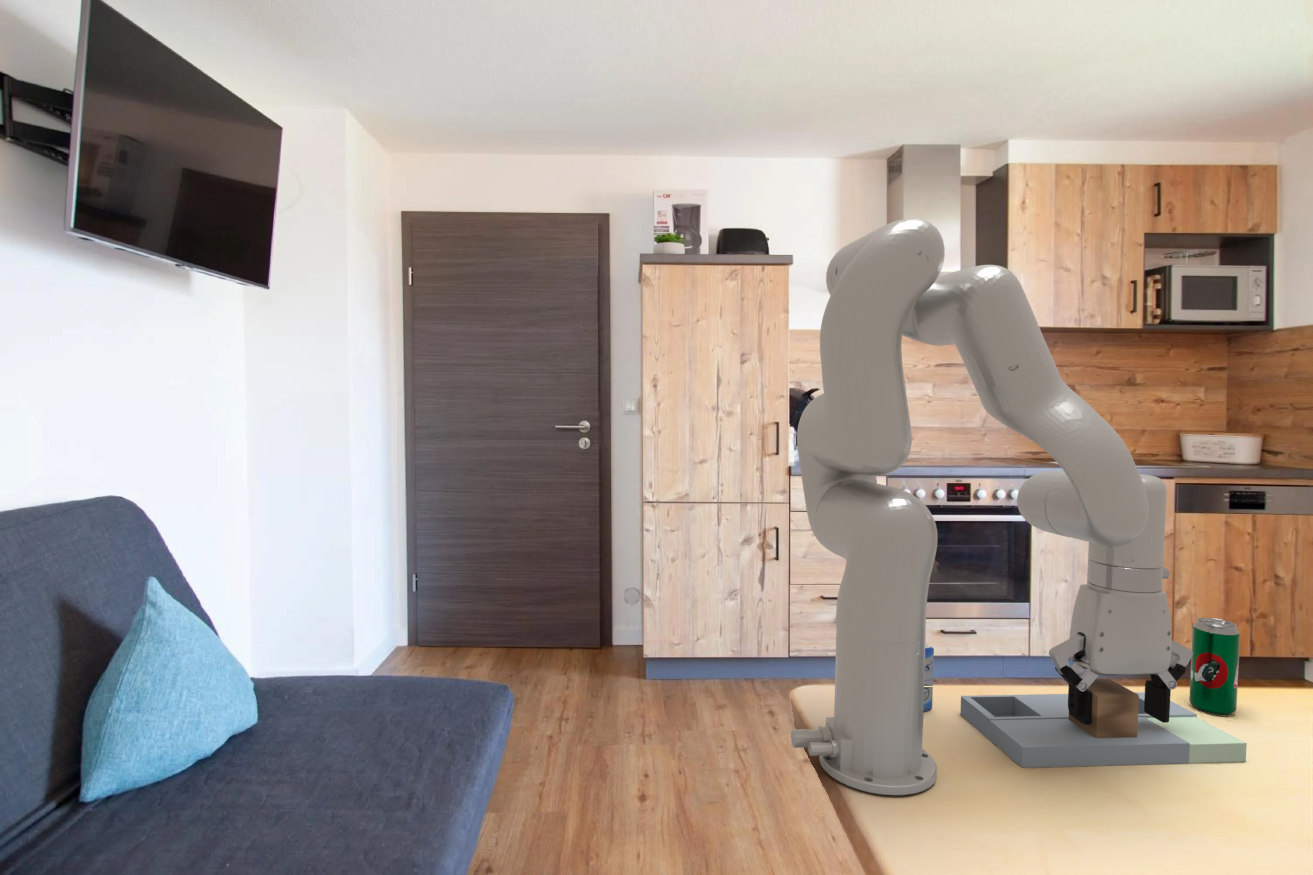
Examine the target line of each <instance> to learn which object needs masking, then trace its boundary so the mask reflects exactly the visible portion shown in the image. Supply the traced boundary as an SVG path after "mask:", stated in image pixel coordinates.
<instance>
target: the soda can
mask: <svg viewBox="0 0 1313 875" xmlns="http://www.w3.org/2000/svg"><path fill="white" fill-rule="evenodd" d="M1191 637H1192V638H1191V650H1192V652H1193V655H1192V657H1191V659H1190V661H1191V662H1190V679H1189V698H1188V699H1189V702H1190V704H1191V705H1192V706H1193V708H1195V709H1197V710H1199V711H1200V712H1203V713H1207V714H1210V715H1214V714H1215V715H1216V716H1222V715H1226V716H1231V715H1232V714H1234V713H1235V712H1236V711H1237V704H1238V702H1237V701H1238V683H1239V682H1238V681H1239V664H1240V647H1241V646H1240V645H1241V644H1240V643H1241V633H1240V631H1239V630H1238V625H1237V624H1236V623H1235V622H1232V621H1229V620H1225V619H1220V618H1215V617H1198V618H1196V622H1195V623H1194V624H1193V625H1192V634H1191Z"/></svg>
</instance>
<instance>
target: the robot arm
mask: <svg viewBox="0 0 1313 875" xmlns="http://www.w3.org/2000/svg"><path fill="white" fill-rule="evenodd" d="M945 249H946V248H945V243H944V239H943V237H942V235H941V232H940V231H939V229H938V228H937V227H936V226H934V225H933V223H930V222H928V221H927V220H924V219H921V218H917V217H916V218H905V219H904V218H903V219H898V220H895V221H893V222H890V223H888V224H885V225H883V226H881V227H879V228H877V229H874V230H873V231H871V232H869V233H867V234H865V235H863V236H862V237H860V238H858V239H856V240H853V241H852V242H849V243H847V244H846V245H845V246H843V247H842V248H840V249H839V250H838V251H837V252H836V253H835V254H834V256H833V257H832V258H831V260H830V261H829V263H828V266H827V269H826V273H825V274H826V278H825V280H826V281H825V282H826V288H827V289H826V290H827V291H828V293H829V298H828V300H827V303H826V306H825V309H824V312H823V315H822V319H821V325H820V332H819V354H820V365H821V366H820V367H821V380H822V389H823V393H822V394H820V395H817V396H816V397H814V398H813V399H812V400H810V401H809V403H808V404H807V405H806V406H805V408H804V410H803V411H802V413H801V416H800V417H799V418H800V419H799V422H798V425H797V433H796V444H797V446H796V447H797V452H798V453H797V455H798V461H799V468H800V474H801V475H800V476H801V482H802V488H803V490H802V491H803V494H804V497H803V498H804V502H805V508H806V514H807V519H808V522H809V525H810V529H811V531H812V533H813V535H814V537H815V538H816V540H817V541H818V543H820V545H821V546H823V547H824V548H825V549H826V550H827V551H830V552H831V553H833V554H834V555H837V556H838V557H841V558H843V559H845V560H846V561H845V568H844V572H843V575H842V579H841V583H840V585H839V589H838V592H837V601H836V614H835V619H836V620H835V628H836V630H835V632H836V634H835V663H834V664H835V667H834V668H835V669H834V670H835V674H834V706H833V707H834V709H833V716H832V717H831V716H828V717H825V725H820V726H818V727H817V729H808V728H804V729H803V728H801V729H800V728H798V729H794V728H793V729H791V732H790V739H791V740H790V741H791V746H792V747H793V748H794V749H795V748H796V749H798V748H807V749H808V753H809V756H811V757H812V756H814V757H817V756H818V761H819V763H820V766H821V767H822V768H823V770H824V771H825V772H826V773H827V774H828V775H829V776H831V777H832V778H833V779H835V780H836V781H837V782H840V783H842V784H844V785H846V786H847V787H851V788H853V789H856V790H859V791H863V792H866V793H870V794H876V795H882V796H883V795H885V796H908V795H914V794H917V793H920V792H924V791H926V790H927V789H930V788H931V787H932V786H933V784H935V782H936V781H937V780H936V779H937V771H938V770H937V769H938V768H937V763H936V761H935V760H934V758H933V757H932V755H930V754H929V753H928V752H927V751H926V750H924V749H923V735H924V734H923V732H924V730H923V729H924V712H923V706H924V673H925V644H926V642H927V641H926V629H927V627H926V626H927V625H926V624H927V623H926V622H927V604H928V593H929V587H930V586H929V585H930V580H931V575H932V571H933V567H934V564H935V563H934V562H935V558H936V554H937V549H938V529H937V524H936V521H935V519H934V516H933V514H932V513H931V511H930V509H929V508H928V506H927V505H926V504H925V503H923V501H922V500H920V498H918V497H916V496H915V495H914V494H912V493H910V492H908V491H905V490H904V489H901V488H897V487H893V486H889V485H884V484H880V483H878V480H877V476H883V475H887V474H889V473H890V474H891V473H893V472H895V471H897V470H898V469H899V468H901V467H902V466H903V465H904V464H905V462H906V461H907V460H908V457H909V456H910V453H911V449H912V438H913V434H912V433H913V432H912V426H911V418H910V412H909V403H908V397H907V395H908V394H907V389H906V382H905V381H906V380H905V375H904V366H903V353H902V338H903V337H906V338H908V339H911V340H913V341H917V342H920V343H923V344H927V345H931V346H935V347H937V346H938V347H942V346H943V347H944V346H952V345H955V346H956V349H957V351H958V354H959V356H960V357H961V360H962V362H963V364H964V366H965V369H966V371H967V372H968V373H967V374H968V375H969V378H970V379H971V382H972V384H973V386H974V389H975V390H976V393H977V395H978V398H979V399H980V402H981V405H982V406H983V409H984V410H985V411H986V413H987V414H988V415H990V416H991V417H992V418H994V419H995V420H996V421H998V422H1000V424H1003V426H1006V427H1007V428H1008V429H1011V430H1012V431H1014V432H1016V433H1018V434H1020V435H1021V436H1024V437H1025V438H1027V439H1028V440H1030V441H1032V442H1033V443H1034V444H1036V445H1037V446H1039V447H1040V448H1041V449H1043V450H1044V451H1045V452H1046V453H1047V454H1048V455H1049V456H1050V457H1051V458H1052V459H1053V460H1054V461H1055V462H1056V463H1057V464H1058V466H1059V467H1060V468H1061V469H1062V470H1047V471H1042V472H1041V471H1040V472H1039V473H1038V472H1037V473H1036V474H1034V475H1032V476H1030V477H1029V478H1027V479H1026V480H1025V481H1024V482H1023V484H1022V485H1021V486H1020V488H1019V490H1018V492H1017V497H1016V505H1017V508H1018V511H1019V514H1020V515H1021V516H1022V519H1024V520H1025V521H1026V522H1027V523H1029V524H1030V525H1031V526H1032V527H1034V528H1036V529H1038V530H1040V531H1043V532H1047V533H1050V534H1054V535H1056V536H1062V537H1066V538H1072V539H1076V540H1079V541H1083V542H1084V541H1085V542H1088V547H1087V548H1088V552H1087V571H1086V572H1087V574H1086V575H1087V576H1086V578H1087V579H1086V580H1087V581H1086V584H1080V586H1079V588H1078V591H1077V594H1076V597H1075V601H1074V605H1073V610H1072V616H1071V623H1070V628H1069V629H1070V631H1069V637H1068V639H1066V640H1064V641H1063V642H1061V643H1059V644H1057V645H1056V646H1053V647H1052V648H1050V649H1049V650H1048V655H1049V657H1050V659H1051V662H1052V663H1053V666H1054V669H1055V671H1056V672H1057V673H1058V674H1059V675H1060V676H1061V677H1062V679H1063V681H1064V683H1067V684H1068V693H1067V694H1068V709H1069V714H1070V715H1071V716H1072V717H1074V718H1075V719H1077V720H1078V721H1080V722H1081V723H1083V724H1085V725H1086V724H1090V723H1091V712H1092V692H1091V691H1089V690H1087V689H1088V688H1089V686H1090V685H1091V684H1092V683H1093V682H1094V680H1095V679H1098V677H1099V676H1148V677H1149V678H1150V679H1146V680H1145V684H1144V692H1145V698H1144V711H1145V713H1147V714H1149V715H1150V716H1152V717H1154V718H1156V719H1157V720H1159V721H1161V722H1163V723H1168V722H1169V713H1170V701H1171V692H1172V690H1175V689H1176V688H1177V686H1178V680H1180V679H1181V678H1182V677H1183V675H1185V673H1186V672H1187V671H1186V670H1187V669H1186V667H1187V666H1188V665H1189V663H1190V661H1191V657H1192V655H1193V652H1192V649H1190V648H1188V647H1186V646H1185V645H1183V644H1181V643H1179V642H1177V641H1175V640H1173V639H1172V620H1171V612H1170V606H1169V601H1168V596H1167V592H1166V591H1164V590H1163V586H1164V585H1163V584H1164V583H1163V582H1164V580H1163V579H1165V580H1166V579H1168V578H1170V570H1169V569H1168V568H1167V567H1164V560H1165V559H1164V558H1165V536H1166V534H1165V533H1166V519H1167V518H1166V516H1167V515H1166V513H1167V493H1168V492H1167V487H1166V483H1165V482H1164V480H1163V479H1161V478H1160V477H1157V476H1155V475H1151V474H1143V473H1140V472H1139V470H1138V468H1137V465H1136V463H1135V460H1134V458H1133V456H1132V453H1131V452H1130V450H1129V447H1128V446H1127V444H1126V443H1125V442H1124V440H1123V438H1122V437H1121V436H1120V435H1119V433H1118V432H1117V431H1116V430H1115V429H1114V428H1113V427H1112V426H1111V424H1110V423H1108V421H1107V420H1105V419H1104V417H1102V416H1101V414H1099V413H1098V411H1096V410H1095V409H1094V408H1093V407H1092V406H1091V405H1090V404H1089V403H1088V402H1087V401H1086V400H1085V399H1083V397H1081V396H1080V395H1079V394H1077V393H1076V392H1075V391H1074V390H1073V389H1072V388H1070V387H1069V386H1068V385H1067V384H1066V383H1065V381H1064V380H1063V378H1062V377H1061V375H1060V372H1059V370H1058V368H1057V365H1056V362H1055V359H1054V358H1053V355H1052V353H1051V352H1050V351H1051V350H1050V349H1049V346H1048V344H1047V341H1046V340H1045V337H1044V335H1043V333H1042V330H1041V327H1040V326H1039V324H1038V323H1039V322H1038V321H1037V318H1036V316H1035V314H1034V311H1033V309H1032V307H1031V305H1030V302H1029V300H1028V298H1027V294H1026V292H1025V291H1024V288H1023V287H1022V284H1021V283H1020V281H1019V279H1018V278H1017V276H1016V275H1015V274H1014V273H1013V272H1012V271H1011V270H1010V269H1008V268H1006V267H1004V266H1001V265H996V264H981V265H975V266H970V267H967V268H963V269H960V270H956V271H954V272H950V273H946V274H943V275H942V274H940V273H941V271H942V269H943V266H944V262H945V256H946V255H945ZM1069 660H1070V661H1071V662H1072V663H1073V664H1072V665H1071V666H1070V663H1069Z"/></svg>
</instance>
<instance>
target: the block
mask: <svg viewBox="0 0 1313 875" xmlns="http://www.w3.org/2000/svg"><path fill="white" fill-rule="evenodd" d="M1087 690H1089V691H1091V692H1092V712H1091V723H1090V724H1086V725H1085V724H1083V723H1081V722H1080V721H1078V720H1077V719H1075V718H1074V717H1072V716H1071V715H1070V714H1069V720H1070V721H1072V722H1073V723H1075V724H1076V725H1078V726H1079V727H1081V728H1082V729H1084V730H1085V731H1087V732H1088V733H1090V734H1091V735H1092V736H1094V737H1095V738H1120V737H1137V729H1138V704H1139V695H1138V694H1136V692H1134V691H1132V690H1131V689H1129V688H1127V687H1125V686H1123V685H1122V684H1120V683H1118V682H1116V681H1114V680H1112V679H1110V678H1096V679H1095V680H1094V682H1093V683H1092V684H1091V685H1090V686H1089V688H1088V689H1087Z"/></svg>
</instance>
